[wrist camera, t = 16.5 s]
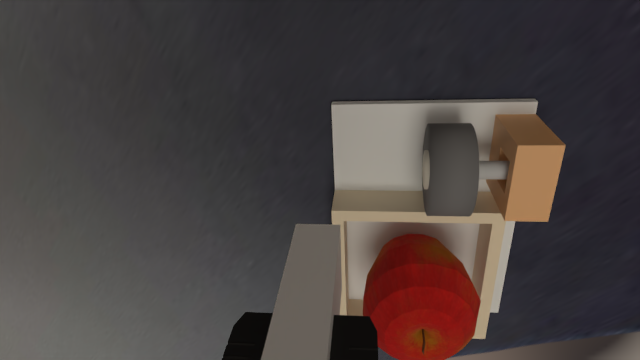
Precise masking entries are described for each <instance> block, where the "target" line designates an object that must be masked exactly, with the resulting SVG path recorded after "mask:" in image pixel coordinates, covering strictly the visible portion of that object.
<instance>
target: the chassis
mask: <svg viewBox="0 0 640 360" xmlns="http://www.w3.org/2000/svg"><path fill="white" fill-rule="evenodd" d="M537 104H538V101H537V100H536V99H472V100H406V101H341V102H332V104H331V108H332V132H333V157H334V181H335V192H334V198H333V204H332V210H331V213H332V225H340V232H341V274H342V291H341V304H340V315H351V316H363V297H364V291H365V285H366V279H367V275H368V273H369V271H370V269H371V267H372V265H373V264H374V262H375V260H376V258H377V256H378V254H379V253H380V251H381V249H382V247H383V246H384V245H385V244H386V243H388V242H389V241H390V240H392V239H393V238H395V237H398V236H402V235H405V234H424V235H427V236H430V237H433V238H436V239H438V240H439V241H440V242H441V243H442V244H443V245H444V246H445V247H446V248H447V249H448V250H449V251H450V252H451V253H452V254H453V255H455V256H456V257H457V258H458V259H459V260H460V261H461V262H462V263H463V265H464V267H465V269H466V271H467V273H468V275H469V277H470V279H471V281H472V283H473V285H474V287H475V289H476V292H477V294H478V296H479V298H480V300H481V303H480V308H479V313H478V318H477V323H476V329H475V334H474V336H473V337H472V338H475V339H485V336H486V330H487V325H488V319H489V314H490V312H496V313H498V310H499V304H500V299H501V294H502V288H503V283H504V278H505V273H506V267H507V262H508V257H509V252H510V246H511V241H512V236H513V231H514V225H515V221H538V222H548V219H549V215H550V210H551V206H552V202H553V198H554V193H555V189H556V185H557V180H558V176H559V172H560V167H561V163H562V159H563V154H564V150H565V146H566V145H565V144H564V143H563V142H562V141H561V140H560V139H559V138H558V137H557V136H556V135H555V134H554V133H553V132H552V131H551V130H550V129H549V128H548V126H547V125H546V124H545V123H544V122H543V121H542V120H541V119H540V118H539V117H538V116H537V115H536V110H537ZM428 123H471V124H472V125H473V127H474V129H475V132H476V136H477V141H478V149H479V161H510V164H509V170H508V176H507V180H503V179H479V186H478V194H477V200H476V205H475V208H474V211H473V213H472V215H471V216H469V217H465V216H427V215H426V213H425V209H424V202H423V187H422V159H423V144H424V135H425V130H426V126H427V124H428Z"/></svg>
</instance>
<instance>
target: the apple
mask: <svg viewBox="0 0 640 360" xmlns="http://www.w3.org/2000/svg"><path fill="white" fill-rule="evenodd" d="M480 303H481V300H480V298H479V296H478V294H477V292H476V289H475V287H474V285H473V283H472V281H471V279H470V277H469V275H468V273H467V271H466V269H465V267H464V265H463V263H462V262H461V261H460V260H459V259H458V258H457V257H456V256H455V255H453V254H452V253H451V252H450V251H449V250H448V249H447V248H446V247H445V246H444V245H443V244H442V243H441V242H440V241H439V240H438V239H436V238H433V237H430V236H427V235H424V234H405V235H402V236H398V237H395V238H393V239H392V240H390V241H389V242H388V243H386V244H385V245H384V246H383V247H382V249H381V251H380V253H379V254H378V256H377V258H376V260H375V262H374V264H373V265H372V267H371V269H370V271H369V273H368V275H367V279H366V285H365V291H364V297H363V316H370V318H371V320H372V322H373V324H374V326H375V328H376V330H377V336H378V347H379V348H381V349H382V350H383V351H385V352H386V353H388V354H389V355H390V356H392V357H394V358H396V359H399V360H445V359H447V358H449V357H451V356H453V355H454V354H456V353H457V352H459V351H460V350H461V349H463V348H464V347H465V346H466V345H467V343H468V342H469V341H470V340H471V339H472V337H473V336H474V334H475V329H476V323H477V318H478V313H479V308H480Z"/></svg>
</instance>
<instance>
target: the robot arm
mask: <svg viewBox="0 0 640 360" xmlns="http://www.w3.org/2000/svg"><path fill="white" fill-rule="evenodd" d="M341 291H342V274H341V232H340V225H327V224H296V226H295V230H294V234H293V238H292V241H291V245H290V249H289V253H288V257H287V261H286V265H285V268H284V272H283V276H282V280H281V284H280V288H279V292H278V296H277V299H276V303H275V307H274V311H273V313H254V312H245V313H244V315H243V316H242V317H241V318H240V319H239V320H238V321H237V323H236V324H235V325H234V326H233V329H232V332H231V335H230V338H229V340H228V345H227V346H226V349H225V352H224V355H223V358H222V360H378V336H377V330H376V328H375V326H374V324H373V322H372V320H371V318H370V316H351V315H340V304H341Z"/></svg>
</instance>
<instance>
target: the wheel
mask: <svg viewBox="0 0 640 360" xmlns="http://www.w3.org/2000/svg"><path fill="white" fill-rule="evenodd" d="M509 164H510V161H479V149H478V141H477V136H476V132H475V129H474V127H473V125H472V124H471V123H428V124H427V126H426V130H425V135H424V144H423V159H422V187H423V202H424V209H425V213H426V215H427V216H465V217H469V216H471V215H472V213H473V211H474V208H475V205H476V200H477V194H478V186H479V179H503V180H507V176H508V170H509Z"/></svg>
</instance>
